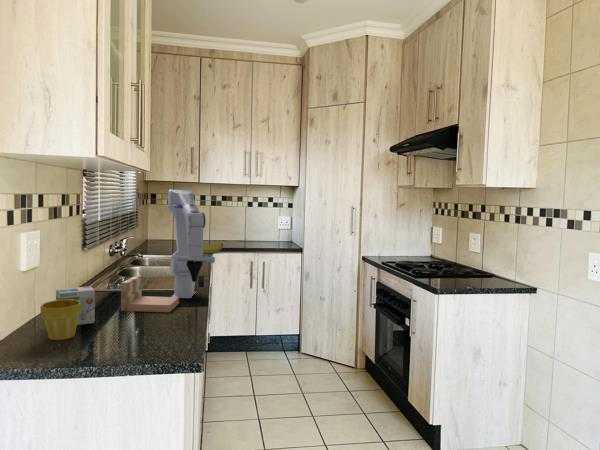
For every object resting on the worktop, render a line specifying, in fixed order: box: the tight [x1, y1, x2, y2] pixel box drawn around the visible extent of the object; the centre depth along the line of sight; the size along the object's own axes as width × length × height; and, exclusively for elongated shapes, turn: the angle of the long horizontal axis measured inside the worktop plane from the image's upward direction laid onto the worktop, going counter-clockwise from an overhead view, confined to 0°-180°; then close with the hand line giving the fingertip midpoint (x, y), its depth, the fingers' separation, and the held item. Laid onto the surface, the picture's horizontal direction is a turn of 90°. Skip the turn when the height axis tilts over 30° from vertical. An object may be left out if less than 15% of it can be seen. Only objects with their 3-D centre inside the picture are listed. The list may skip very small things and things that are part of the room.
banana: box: [203, 242, 224, 254], centre depth 309 cm, size 23×6×20 cm, turn 105°
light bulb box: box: [55, 285, 96, 326], centre depth 143 cm, size 11×7×11 cm, turn 126°
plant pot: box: [40, 299, 81, 341], centre depth 129 cm, size 10×10×10 cm
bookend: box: [120, 274, 143, 312], centre depth 165 cm, size 15×2×10 cm, turn 0°
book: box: [126, 295, 180, 313], centre depth 165 cm, size 12×15×3 cm
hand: (194, 281), depth 167 cm, fingers closed
